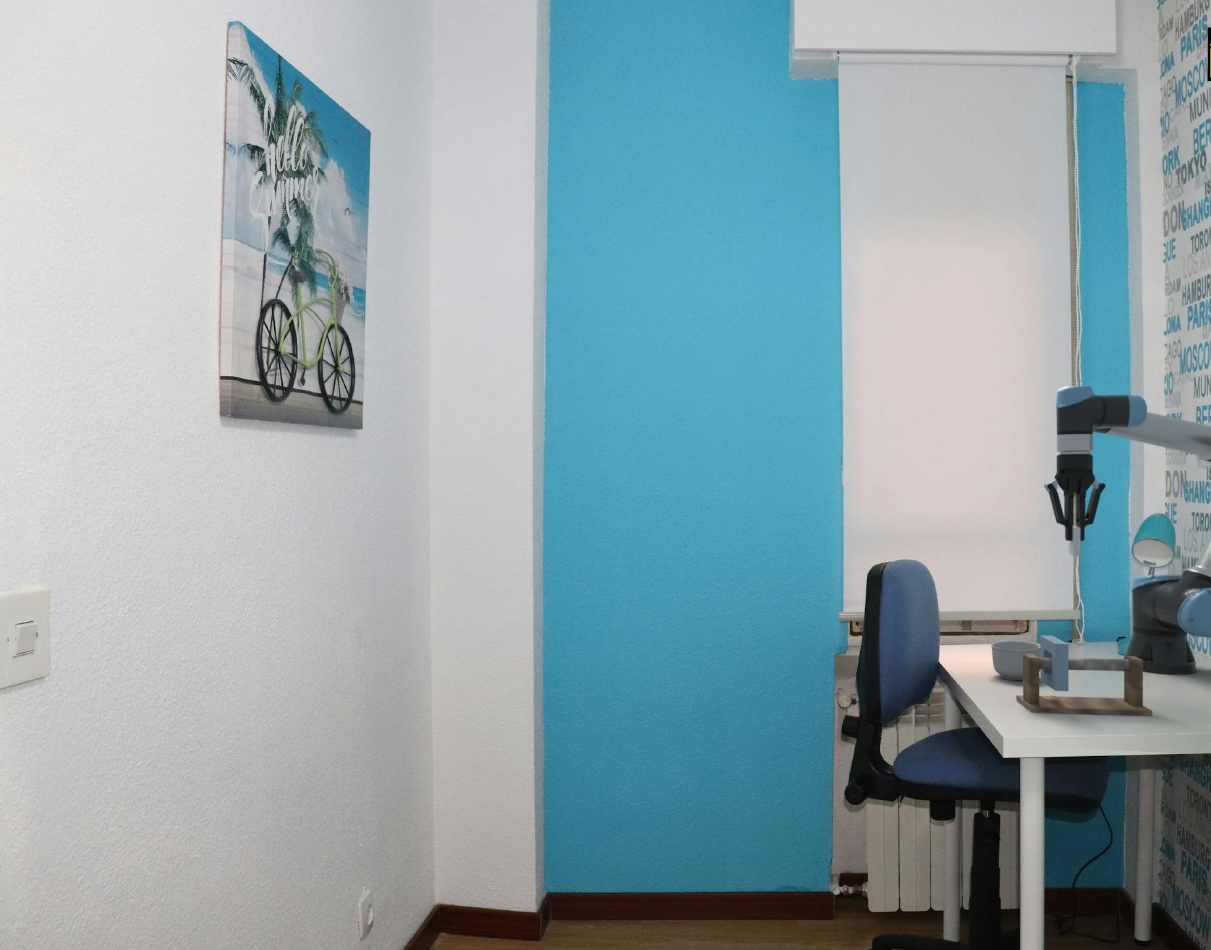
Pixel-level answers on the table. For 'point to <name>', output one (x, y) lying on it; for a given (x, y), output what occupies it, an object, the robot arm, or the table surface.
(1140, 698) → the wooden rod stand
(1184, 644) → the robot arm
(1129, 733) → the table surface
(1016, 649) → the teacup
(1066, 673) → the ring
